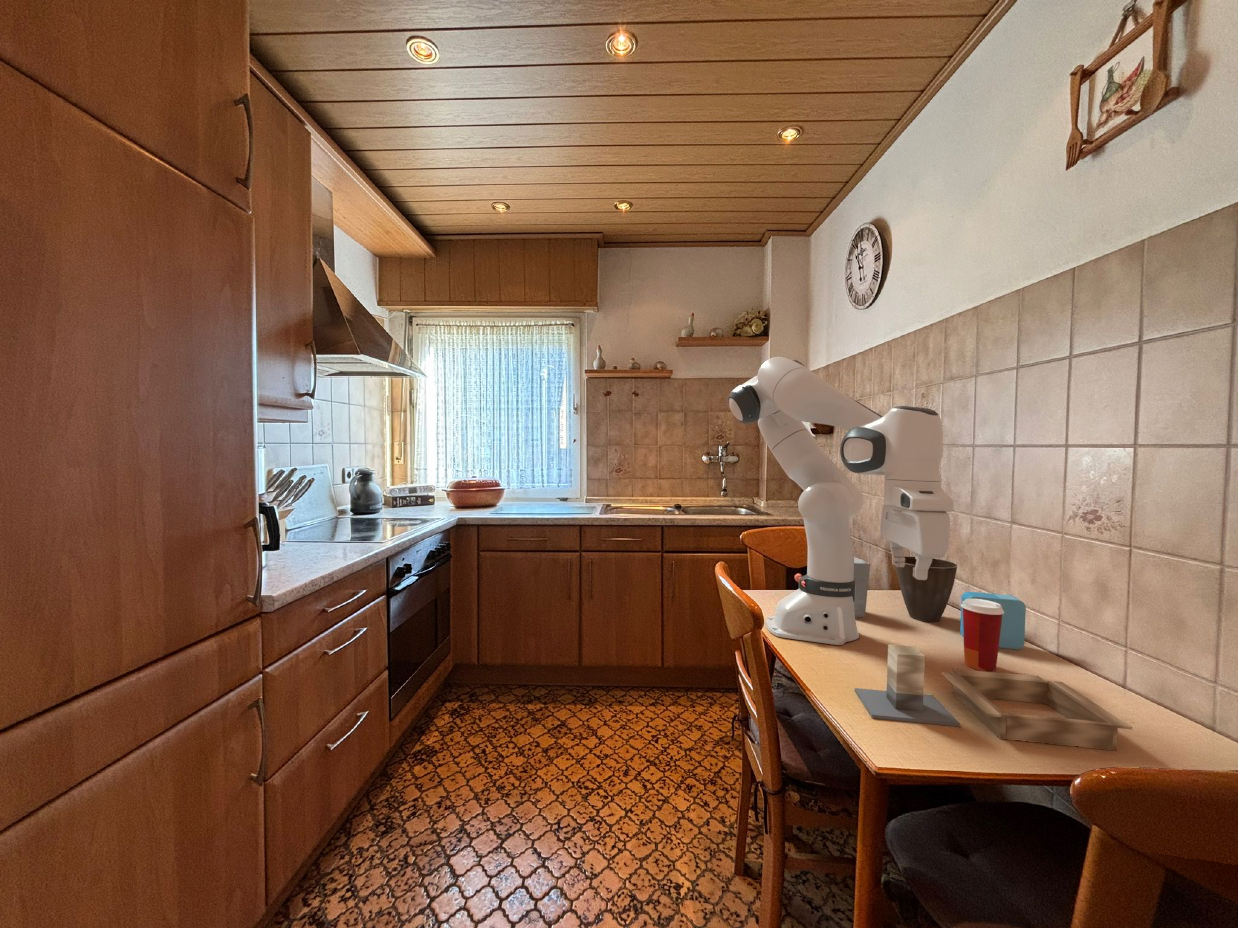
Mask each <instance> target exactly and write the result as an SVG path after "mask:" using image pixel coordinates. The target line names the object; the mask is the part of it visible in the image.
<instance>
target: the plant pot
mask: <svg viewBox="0 0 1238 928" xmlns="http://www.w3.org/2000/svg"><path fill="white" fill-rule="evenodd" d="M904 558H905V566H904V567H896V573H897V578H898V583H899V586H900V587H899V588H900V591H901V595H902V598H903V601H904V604H905V607H906V611H907V613H908V616H909V617H910V618H912V619H914V620H917V621H920V622H928V623H929V622H930V623H931V622H932V623H934V622H939V621H940V620H941V619H942V617H943V615H944V612H945V610H946V608H947V606H948V603H949V600H950V597H951V594H952V591H953V587H954V584H955V580H956V576H957V571H958V564H957V563H954V562H951V561H949V560H944V559H941V558H932V563H931V565H930V567H929V569H928V576H927V579H926V580H918V579H916V578H915V577H913V567H914V568H915V565H916V561H917V559H915V556H904Z"/></svg>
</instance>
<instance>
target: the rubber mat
mask: <svg viewBox="0 0 1238 928" xmlns="http://www.w3.org/2000/svg"><path fill="white" fill-rule="evenodd" d="M854 692H855V694H856V696H857V697H858V699H859V701H860V702H861V703H862V705H863V706H864V708H865V710H866V711H867V713H868V715H869V716H870V717H871V718H872V719H878V720H879V719H880V720H887V721H889V720H890V721H899V722H909V723H919V724H929V725H939V726H940V725H941V726H948V727H950V726H951V727H959V726H961V723H960V722H959V721H958V720H957V718H955V715H953V714H952V713H951V712H950V711H949V710H948V709H947V708H946V707H945V705H943V704H942V702H940V701H939V699H937V698H936V696H935V695H933V694H925V693H924V695H923V712H918V711H907V710H897V709H895V708H894V707H893V705H892V704H891V703H890V701H889V700H888V699H887V697H886V694H887V690H883V689H882V690H881V689H880V690H879V689H872V688H871V689H870V688H869V689H868V688H859V687H856V688H855V687H854Z"/></svg>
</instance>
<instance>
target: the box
mask: <svg viewBox="0 0 1238 928" xmlns="http://www.w3.org/2000/svg"><path fill="white" fill-rule="evenodd" d="M925 659H926V655H925V654H924V653H922V652H921V651H920V650H919V648H917V647H915V646H914V645H913V646H912V645H903V644H902V645H900V644H887V666H886V669H887V670H886V671H887V672H886V673H887V674H886V691H887V694H886V697H887V699H888V700H889V701H890V703H891V704H892V705H893V707H894V708H895V709H897V710H907V711H918V712H923V695H924V694H925V693H924V692H925V690H924V689H925V664H926V660H925Z"/></svg>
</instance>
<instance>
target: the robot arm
mask: <svg viewBox="0 0 1238 928" xmlns="http://www.w3.org/2000/svg"><path fill="white" fill-rule="evenodd" d="M727 399H728V404H729V405H728V406H729V409H730V412H731V414H732V415H733V416H734V417H735V418H736V420H738V421H739V422H740V423H742V424H745V425H748V424H753V423H756V422H757V427H758V429H759V432H760V434H761V435H762V436H761V437H762V438H763V440H764V442H765V443H766V445H767V447H768V449H769V450H770V452H771V453H772V455H773V456H774V458H775V459H776V461H777V462H778V463H779V465H780V467H781V469H782V470H783V471H784V473H785V474H786V476H787V477H788V478H789V479H791V480H792V481H793V482H794V483H796V484H797V485H798V487H799V488H801V489H802V490H803V491H802V493H801V494H800V495H799V497H798V502H797V505H798V506H797V508H798V511H799V514H800V515H801V517H802V519H803V526H804V530H805V535H806V536H805V538H806V544H807V565H806V567H807V569H806V574H805V575H802V574H801V573H796V574H795V575H794V580H795V581H796V582H797V583H798V589H796V590H794V591H793V592H791V593H790V594H788V595H786V596H785V597H783V598H781V599H780V600H778V603H777V605H776V608H775V611H774V612H775V613H774V615H770V616H768V617H767V618H766V621H765V626H766V628H767V630H768V632H769V633H770V634H772V635H774V636H776V637H778V638H783V639H792V640H799V641H806V642H813V643H819V644H829V645H835V646H842V645H844V644H845V643H847V642H852V641H855V640H857V639H858V638H859V637H860V634H859V631H858V627H857V621H856V617H855V613H854V601H855V595H856V585H855V580H854V557H855V547H854V545H853V541H852V537H851V530H850V520H853V519H854V518H855V517H857V515H858V514H859V513H860V512H861V510H862V508H863V505H864V496H863V493H862V491H861V489H860V488H859V487H858V486H857V485H856V484H855V483H853V482H852V480H850V478H849V477H848V476H847V475H846V474H845V473H844V472H843V470H841V468H840V467H839V466H838V465H836V463H834V461H832V459H831V458H830V457H829V456H828V455H827V454H826V453H825V451H824V450H823V448H821V447H822V446H820V445H819V443H818V442H817V440H816V439H815V438H814V435H812V433H811V432H810V430H809V429H808V428H807V427H806V425H805V423H809V424H810V423H811V424H821V425H827V426H833V427H836V428H837V427H838V428H839V429H844V430H845V431H847V432H846V433H845V434H844V436H843V438H842V440H841V443H840V445H839V446H840V448H839V454H840V459H841V462H842V463H843V466H844V467H845V468H846V469H847V470H849V471H850V472H852V473H853V474H854V473H855V474H858V475H864V476H866V475H867V476H871V475H872V476H884V484H883V485H884V487H883V488H884V489H883V505H882V509H881V510H882V511H881V517H880V518H881V519H880V530H879V531H880V532H879V533H880V535H881V537H882V538H883V539H885V540H887V541H889V549H890V552H891V564H892V566H894V567H896V568H897V567H904V566H905V558H904V557H905V556H904V549H905V550H908V551H910V552H912V553H914V554H915V556H914V557H915V559H917V561H916V565H915V568H914V567H913V577H915V578H916V579H918V580H926V579H927V576H928V569H929V567H930V565H931V563H932V558H933V559H943V558H945V556H946V554H947V552H948V550H949V545H950V544H949V542H950V535H951V534H950V533H951V518H950V515H949V513H951V512H953V510H954V499H953V498H951V496H949V495H948V493H947V492H945V489H943V488H942V475H941V472H940V471H941V470H940V465H941V462H942V458H943V452H944V450H943V449H944V433H943V432H944V431H943V424H942V423H943V422H942V419H941V416H940V414H939V413H938V412H937V411H935V410H934V409H932V408H926V407H920V406H919V407H918V406H909V405H896V406H894V407H891V408H890V410H888V412H887V413H885V414H884V415H881V414H880V413H877V412H876V411H874V410H873V409H872V408H870V407H868V406H866V405H864V404H862V403H861V402H859V401H857V400H855V399H853V398H852V397H850V396H848V395H847V394H846V393H844V392H843V391H841V390H839V389H838V388H836V387H835V386H833V385H831V384H830V383H829V382H828V381H826V380H824V379H823V378H821V377H820V376H819V375H818V374H816V373H815V372H813V371H812V370H810V369H809V368H807V367H806V366H805V365H804V363H802V362H800V361H799V360H796V359H790V358H787V357H784V356H773V357H771V358H768V359H767V360H766V361H764V362H763V363H762V364H761V366H760V367H759V369H758V371H757V375H755V376H754V377H752V378H750V379H749V380H747V381H746V382H744V383H742V384H739V385H737V386H736V387H735V388H734V389H733V390H732V391H730V393H729V395H728V398H727ZM803 422H804V423H803Z"/></svg>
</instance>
